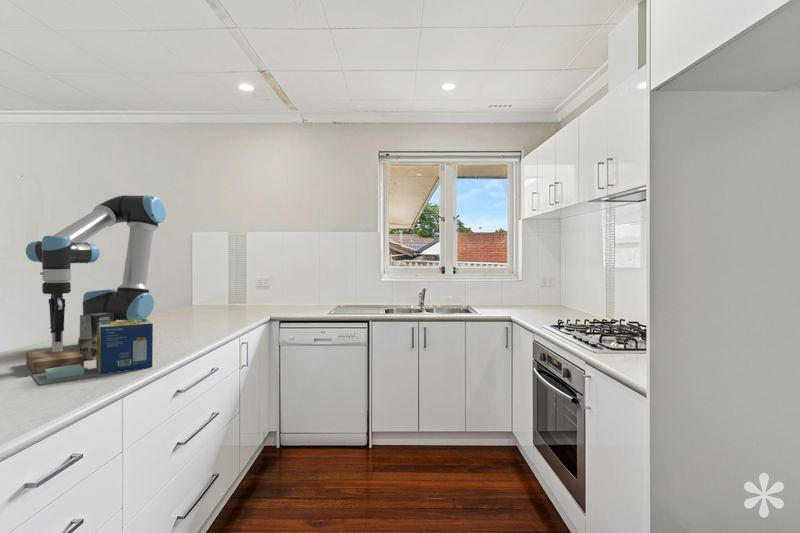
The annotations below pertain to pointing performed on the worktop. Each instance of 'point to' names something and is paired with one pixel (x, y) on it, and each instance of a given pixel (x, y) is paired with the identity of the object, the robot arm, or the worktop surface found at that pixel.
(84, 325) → the coffee box
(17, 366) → the worktop surface
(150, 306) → the robot arm
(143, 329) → the protein box
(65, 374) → the mint green rectangular slab
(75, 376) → the mat
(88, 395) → the worktop surface
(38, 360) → the brown wooden block
